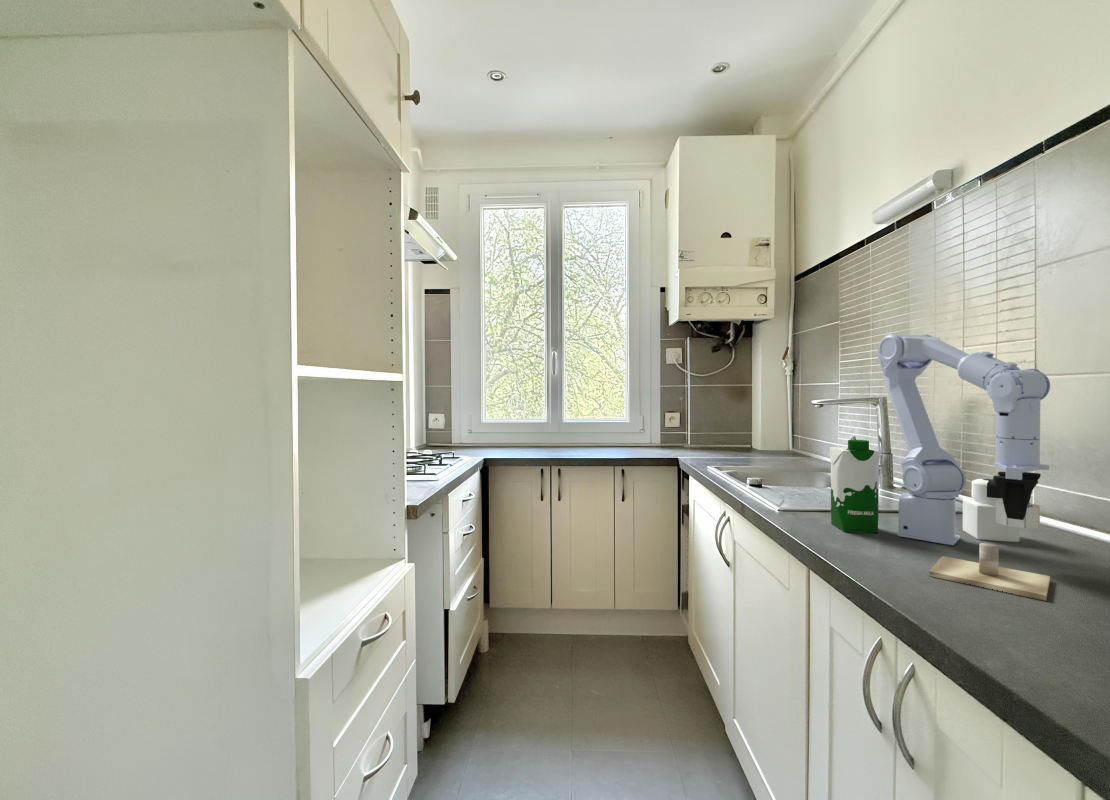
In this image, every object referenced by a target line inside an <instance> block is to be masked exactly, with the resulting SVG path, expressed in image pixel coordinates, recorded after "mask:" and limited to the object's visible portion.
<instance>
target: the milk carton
mask: <svg viewBox="0 0 1110 800" xmlns="http://www.w3.org/2000/svg"><path fill="white" fill-rule="evenodd" d="M829 455H830V456H829V457H830V524H831V525H832V526H834V527H836V528H838V529H839V530H840V531H842V532H843V533H870V534H871V533H872V534H874V533H875V534H878V533H879V502H880V501H879V495H880V494H879V491H880V490H879V485H880V483H879V482H880V480H879V479H880V478H879V477H880V476H879V475H880V472H879V470H880V469H879V468H880V458H881V450H877V449H873V448H870V441H869V440H867V439H865V440H864V439H849V440H847V447H846V446H845V447H841V446H840V447H839V446H838V447H837V446H836V447H835V446H831V447H830V446H829Z"/></svg>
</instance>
